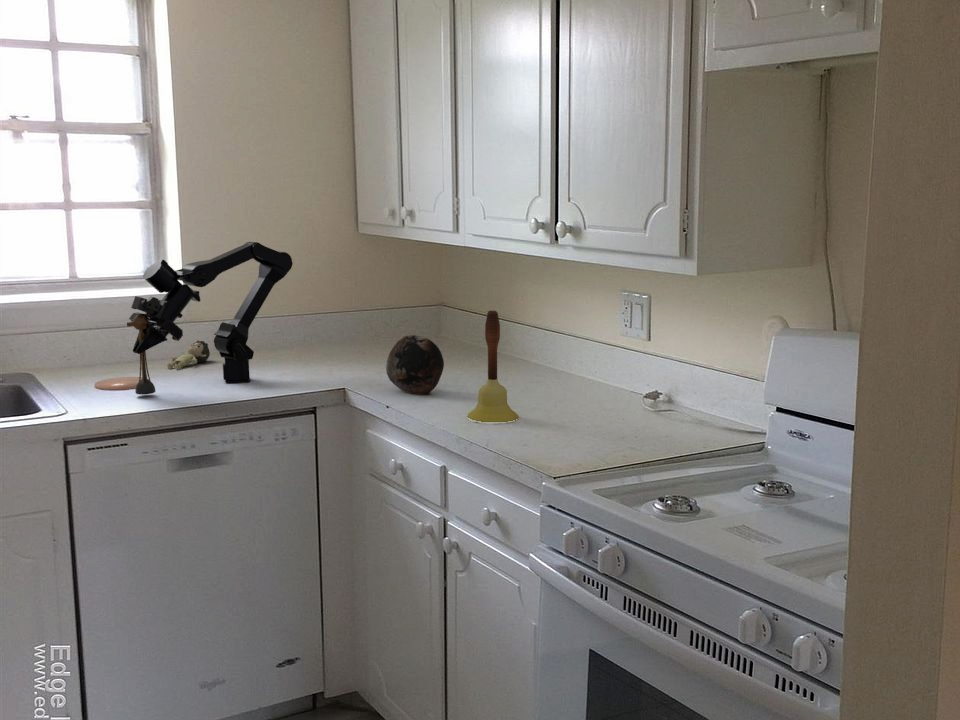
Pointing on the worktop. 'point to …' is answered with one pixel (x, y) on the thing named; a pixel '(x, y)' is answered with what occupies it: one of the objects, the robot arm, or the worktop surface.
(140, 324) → the wooden tabletop sculpture
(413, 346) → the decorative stone
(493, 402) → the handbell
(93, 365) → the worktop surface
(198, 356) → the figurine
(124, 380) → the coaster
